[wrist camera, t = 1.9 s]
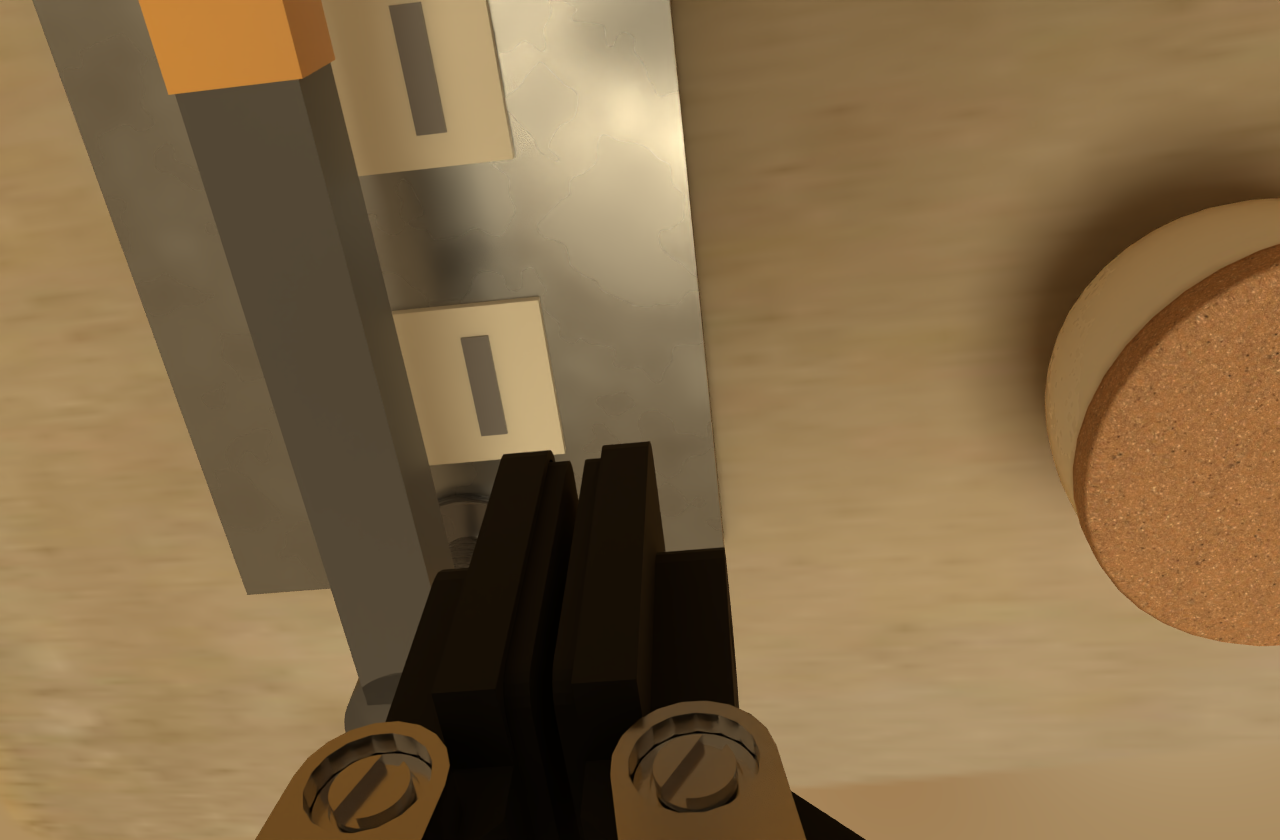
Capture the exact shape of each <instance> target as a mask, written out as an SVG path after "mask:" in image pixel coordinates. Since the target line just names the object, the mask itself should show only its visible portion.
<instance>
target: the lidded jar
mask: <svg viewBox="0 0 1280 840" xmlns="http://www.w3.org/2000/svg"><path fill="white" fill-rule="evenodd" d="M1045 415H1046V426H1047V433H1048V439H1049V444H1050V448H1051V452H1052V456H1053V460H1054V463H1055V466H1056V469H1057V472H1058V475H1059V478H1060V481H1061V484H1062V486H1063V488H1064V490H1065V492H1066V494H1067V496H1068V498H1069V500H1070V503H1071V505H1072V507H1073V509H1074V510H1075V512H1076V514H1077V516H1078V518H1079V522H1080V526H1081V528H1082V530H1083V532H1084V535H1085V537H1086V539H1087V541H1088V543H1089V545H1090V547H1091V549H1092V551H1093V554H1094V555H1095V557H1096V559H1097V561H1098V562H1099V564H1100V566H1101V567H1102V569H1103V570H1104V571H1105V573H1106V574H1107V575H1108V577H1109V578H1110V579H1111V580H1112V582H1113V583H1114V584H1115V586H1116V587H1117V588H1118V590H1119V591H1120V592H1122V593H1123V594H1124V595H1125V596H1126V597H1127V598H1128V599H1129V600H1131V601H1132V602H1133V603H1134V604H1135V605H1136V606H1137V607H1138V608H1139V609H1141V610H1143V611H1144V612H1146V613H1148V614H1149V615H1151V616H1153V617H1154V618H1156V619H1158V620H1159V621H1161V622H1163V623H1164V624H1167V625H1169V626H1172V627H1174V628H1177V629H1179V630H1182V631H1184V632H1187V633H1189V634H1192V635H1196V636H1200V637H1204V638H1208V639H1213V640H1217V641H1221V642H1227V643H1236V644H1245V645H1254V646H1274V645H1280V198H1272V199H1253V200H1248V201H1243V202H1237V203H1232V204H1227V205H1222V206H1216V207H1211V208H1207V209H1204V210H1202V211H1199V212H1196V213H1193V214H1190V215H1187V216H1184V217H1181V218H1179V219H1176V220H1174V221H1172V222H1170V223H1168V224H1166V225H1164V226H1162V227H1160V228H1158V229H1156V230H1154V231H1152V232H1150V233H1149V234H1147V235H1146V236H1144V237H1143V238H1141V239H1140V240H1138V241H1137V242H1135V243H1134V244H1132V245H1131V246H1129V247H1128V248H1126V249H1125V250H1124V251H1123V252H1122V253H1120V254H1119V255H1118V256H1117V257H1116V258H1115V259H1113V260H1112V261H1111V262H1110V263H1109V264H1108V265H1106V266H1105V267H1104V268H1103V269H1102V270H1101V271H1100V273H1099V274H1098V275H1097V276H1096V277H1095V278H1094V279H1093V280H1092V281H1091V283H1090V284H1089V285H1088V286H1087V287H1086V288H1085V289H1084V291H1083V292H1082V294H1081V295H1080V297H1079V298H1078V300H1077V301H1076V302H1075V304H1074V305H1073V307H1072V308H1071V310H1070V311H1069V313H1068V315H1067V317H1066V319H1065V321H1064V323H1063V325H1062V328H1061V330H1060V332H1059V334H1058V336H1057V339H1056V342H1055V346H1054V349H1053V352H1052V355H1051V359H1050V363H1049V368H1048V373H1047V381H1046V389H1045Z"/></svg>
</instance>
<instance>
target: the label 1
mask: <svg viewBox="0 0 1280 840" xmlns="http://www.w3.org/2000/svg"><path fill="white" fill-rule="evenodd" d="M321 2H322V6H323V10H324V14H325V18H326V22H327V27H328V31H329V35H330V39H331V43H332V47H333V51H334V55H335V60H334V61H332V62H331V67H332V71H333V75H334V79H335V83H336V87H337V91H338V95H339V99H340V103H341V107H342V111H343V116H344V120H345V124H346V128H347V132H348V136H349V140H350V144H351V148H352V152H353V156H354V160H355V164H356V169H357V173H358V176H366V175H375V174H384V173H393V172H402V171H411V170H420V169H429V168H438V167H447V166H456V165H465V164H474V163H483V162H492V161H501V160H510V159H514V157H515V154H514V148H513V142H512V137H511V131H510V125H509V119H508V114H507V108H506V102H505V96H504V91H503V85H502V79H501V73H500V68H499V62H498V56H497V50H496V45H495V39H494V33H493V27H492V22H491V16H490V10H489V5H488V0H321Z"/></svg>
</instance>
